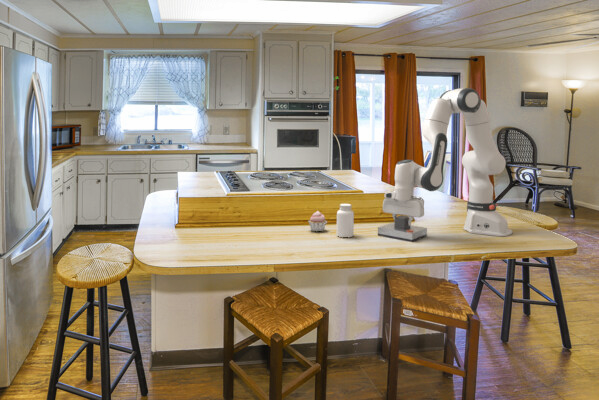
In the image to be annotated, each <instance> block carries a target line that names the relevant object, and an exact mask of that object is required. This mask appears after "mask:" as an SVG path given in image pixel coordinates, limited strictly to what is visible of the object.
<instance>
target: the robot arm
mask: <svg viewBox="0 0 599 400" xmlns="http://www.w3.org/2000/svg"><path fill="white" fill-rule="evenodd" d="M453 114H462V116H463V117H464V127H465V132H466V139H467V142H468V143H469V144H470V146H471V147H472V149H473V150H469V151H466V152H465V153H464V154H463V156H462V157H461V164H462V167H463V168H464V169H465V171H466V176H467V179H468V180H467V181H468V200H467V205H466V217H465V222H464V225H463V228H462V229H463V230H464V231H467V232H468V233H470V234H477V235H478V234H479V235H486V236H496V237H508V236H510V235H512V234H513V230H512V229H509V226H508V225H509V224H508V220H507V219H506V218H505V217H504V216H503V215H502V214H501V213H499V212H498V211H497V207H498V204H497V203H496V204H495V203H494V202H493V199H494V198H493V197H494V185H493V183H492V182H491V179H490V176H493V175H494V176H495V175H499V174H501V173H502V172H503V171H504V170H505V167H506V165H507V164H506V158H505V157H504V155H502V154H501V153H500V151H499V150H498V147H497V145H496V143H495V141H494V140H495V139H494V137H493V134H492V133H493V132H492V128H491V121H490V116H489V115H490V114H489V110H488V107H487V104H486V103H485V100H483V99H481V98H480V95H479V93H478V91H477V90H475V89H473V88H470V87H466V88H455V89H450V90H446V91H444V92H443V93H442V94H441V95H440V96H439V98H434V99H433V100H432V101H431V103H430V105H429V107H428V109H427V111H426V114H425V117H424V120H423V124H422V129H421V130H422V132H421V133H422V136H423V137H424V138H425V140H426V141H428V143H429V144H430V145H431V155H430V160H429V165H428V167H426V166H422V165H420V164H418V163H416V162H414V160H413V159H402V160H400V161H397V163H396V165H395V168H394V187H393V190H392V191H389V192H386V193H384V195H383V196H384V199H383V202H382V212H383V213H386V214H391V215H392V218H393V220H394V223H395V217H398V216H401V215H402V216H408V217H409V218H410V219H409V221H407V224H406V225H409V226H410V225H412V221H413V220H414V218H422V217H423V216H425V207H424V206H425V200H424V198H423V197H421V196H416V195H414V192H415V191H414V190H415V189H414V188H415V187H418V188H420V189H424V190H426V191H429V192H436V191H437V190H439V189H440V188H441V187H442V185H443V183H444V166H445V160H446V154H447V148H448V137H447V133H448V128H449V126H450V125H449V124H450V120H451V117H452V115H453Z"/></svg>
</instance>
